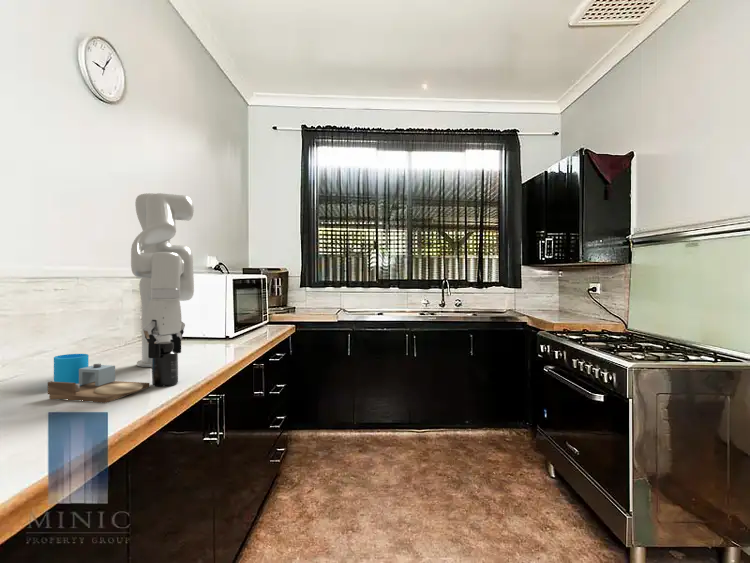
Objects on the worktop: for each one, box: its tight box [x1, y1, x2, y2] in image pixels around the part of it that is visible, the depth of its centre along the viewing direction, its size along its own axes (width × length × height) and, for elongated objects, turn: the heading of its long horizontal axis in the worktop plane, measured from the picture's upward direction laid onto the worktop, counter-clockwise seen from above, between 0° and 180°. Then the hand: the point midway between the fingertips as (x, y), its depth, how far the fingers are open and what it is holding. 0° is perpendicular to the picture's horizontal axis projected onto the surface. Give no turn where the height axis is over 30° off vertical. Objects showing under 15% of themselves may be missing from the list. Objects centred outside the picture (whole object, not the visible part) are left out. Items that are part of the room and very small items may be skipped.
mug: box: [53, 353, 89, 384], centre depth 129 cm, size 12×8×8 cm
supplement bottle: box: [151, 342, 179, 388], centre depth 129 cm, size 7×7×12 cm
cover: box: [79, 363, 116, 386], centre depth 124 cm, size 6×6×5 cm
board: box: [47, 380, 151, 404], centre depth 119 cm, size 16×19×4 cm
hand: (165, 355), depth 128 cm, fingers open, 9 cm apart
